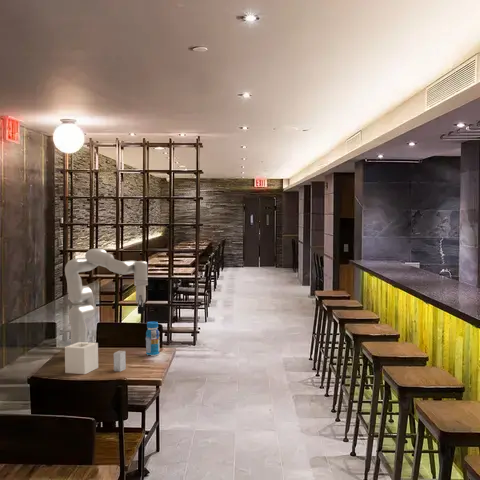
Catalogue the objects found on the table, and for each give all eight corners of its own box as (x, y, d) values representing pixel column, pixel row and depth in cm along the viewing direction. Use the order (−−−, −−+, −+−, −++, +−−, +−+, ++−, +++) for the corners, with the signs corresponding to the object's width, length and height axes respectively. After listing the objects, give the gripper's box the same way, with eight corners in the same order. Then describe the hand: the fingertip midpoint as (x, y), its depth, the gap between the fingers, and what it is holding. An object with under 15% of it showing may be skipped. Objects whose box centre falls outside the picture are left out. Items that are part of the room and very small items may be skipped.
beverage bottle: (143, 355, 356) (142, 323, 355) (150, 352, 364) (149, 320, 363) (155, 356, 353) (155, 323, 352) (162, 353, 361) (161, 321, 360)
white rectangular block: (113, 371, 320) (113, 353, 320) (119, 368, 326) (118, 350, 326) (120, 371, 319) (120, 353, 319) (125, 368, 325) (125, 351, 325)
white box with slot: (65, 372, 318) (64, 347, 317) (79, 366, 331) (79, 341, 331) (84, 374, 314) (84, 348, 314) (98, 367, 328) (97, 343, 327)
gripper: (136, 281, 343) (136, 310, 343) (132, 284, 326) (133, 315, 326) (148, 281, 343) (149, 310, 344) (146, 284, 326) (146, 314, 327)
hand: (141, 312), depth 335 cm, fingers open, 9 cm apart
